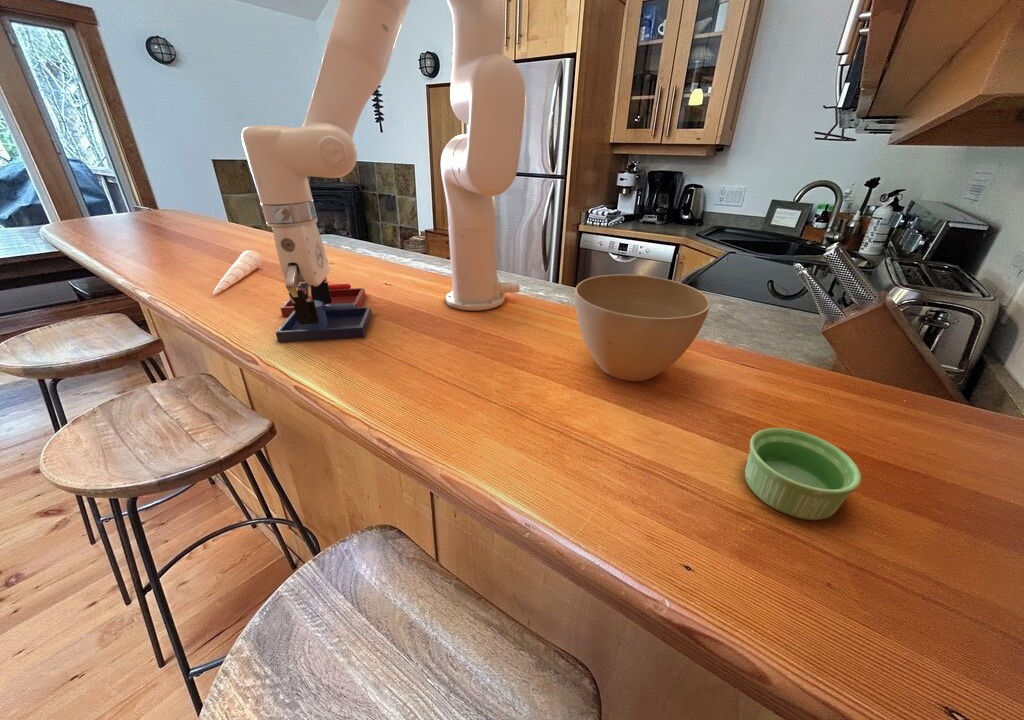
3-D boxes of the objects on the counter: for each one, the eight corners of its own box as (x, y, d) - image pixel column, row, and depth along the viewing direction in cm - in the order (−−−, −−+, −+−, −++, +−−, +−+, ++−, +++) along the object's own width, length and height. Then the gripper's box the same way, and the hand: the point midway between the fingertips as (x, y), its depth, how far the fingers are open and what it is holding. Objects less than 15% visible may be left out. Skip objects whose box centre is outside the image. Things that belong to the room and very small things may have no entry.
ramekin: (819, 543, 36) (838, 508, 34) (721, 482, 42) (732, 449, 40) (857, 497, 41) (876, 463, 38) (764, 448, 47) (776, 417, 45)
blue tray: (372, 315, 81) (370, 306, 80) (363, 337, 72) (362, 327, 72) (296, 319, 79) (293, 310, 78) (278, 342, 71) (275, 332, 70)
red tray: (365, 296, 91) (364, 287, 90) (357, 313, 83) (356, 304, 82) (298, 299, 89) (296, 290, 89) (282, 317, 81) (280, 307, 80)
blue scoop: (361, 320, 78) (357, 298, 76) (357, 329, 75) (352, 306, 72) (305, 323, 77) (300, 300, 75) (299, 332, 73) (292, 309, 71)
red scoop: (355, 299, 88) (352, 279, 86) (352, 306, 85) (348, 285, 83) (307, 301, 87) (302, 281, 85) (301, 309, 83) (295, 288, 81)
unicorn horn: (195, 297, 90) (187, 275, 88) (246, 267, 111) (241, 249, 109) (218, 296, 91) (211, 275, 88) (265, 267, 111) (260, 249, 109)
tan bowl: (601, 410, 53) (613, 324, 48) (552, 349, 69) (556, 278, 63) (718, 390, 58) (742, 309, 52) (648, 337, 73) (660, 270, 67)
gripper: (299, 222, 59) (327, 331, 67) (327, 204, 74) (347, 295, 82) (243, 225, 58) (278, 334, 66) (283, 206, 73) (308, 297, 81)
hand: (316, 312), depth 74 cm, fingers open, 9 cm apart
